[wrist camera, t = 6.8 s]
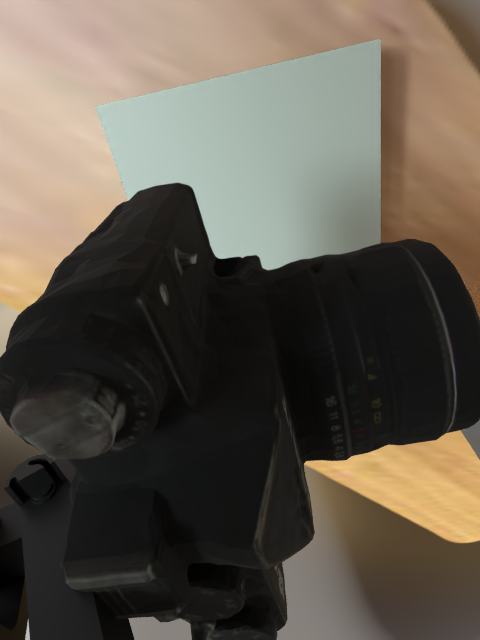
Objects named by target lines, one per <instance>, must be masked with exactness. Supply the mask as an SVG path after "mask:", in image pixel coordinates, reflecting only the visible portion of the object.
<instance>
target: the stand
mask: <svg viewBox="0 0 480 640" xmlns="http://www.w3.org/2000/svg"><path fill="white" fill-rule="evenodd" d="M95 107H96V110H97V113H98V116H99V119H100V121H101V124H102V127H103V130H104V133H105V136H106V139H107V141H108V144H109V147H110V150H111V153H112V156H113V158H114V161H115V164H116V167H117V170H118V173H119V176H120V178H121V181H122V184H123V187H124V190H125V193H126V195H127V198H128V201H129V200H130V199H131V198H132V197H133V196H134V195H135V194H136V193H137V192H138V191H141V190H144V189H147V188H150V187H153V186H158V185H165V184H171V183H177V182H178V183H182V184H186V185H189V186H190V187H192V189H193V191H194V193H195V197H196V200H197V203H198V206H199V210H200V213H201V216H202V219H203V223H204V226H205V229H206V232H207V235H208V238H209V242H210V246H211V248H212V251H213V253H214V255H215V256H216V257H217V258H219V259H225V258H231V257H242V258H244V257H245V256H251V255H257V256H258V257H259V258H260V261H261V264H262V268H264V269H266V270H272V269H276V268H279V267H282V266H284V265H286V264H288V263H290V262H294V261H298V260H300V259H311V258H314V257H318V256H322V255H328V254H344V253H348V252H352V251H357V250H360V249H362V248H365V247H368V246H372V245H376V244H380V243H381V39H376V40H372V41H368V42H364V43H360V44H355V45H351V46H347V47H343V48H339V49H334V50H330V51H326V52H322V53H318V54H313V55H309V56H305V57H301V58H297V59H292V60H288V61H284V62H280V63H276V64H271V65H267V66H263V67H259V68H255V69H250V70H246V71H242V72H238V73H234V74H229V75H225V76H221V77H217V78H213V79H208V80H204V81H200V82H196V83H192V84H187V85H183V86H179V87H175V88H171V89H166V90H162V91H158V92H154V93H150V94H145V95H141V96H137V97H133V98H129V99H124V100H120V101H116V102H112V103H108V104H103V105H99V106H95Z"/></svg>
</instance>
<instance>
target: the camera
mask: <svg viewBox="0 0 480 640" xmlns="http://www.w3.org/2000/svg"><path fill="white" fill-rule="evenodd" d="M0 412H1V414H2V416H3V418H4V419H5V421H6V423H7V425H8V426H9V427H11V428H12V429H13V430H14V432H15V433H16V434H17V435H18V436H20V437H21V438H22V439H23V440H24V441H25V442H26V443H28V444H30V445H32V446H34V447H36V448H37V449H38V450H40V451H41V452H43V453H44V454H45V455H47V456H48V457H49V458H51V459H68V461H69V462H70V463H71V464H72V465H73V466H74V468H75V470H76V473H75V475H74V477H73V479H72V482H71V484H70V502H71V503H72V505H73V510H72V515H71V519H70V524H69V528H68V532H67V536H66V541H65V545H64V548H63V552H62V556H61V559H60V563H59V566H60V569H61V571H62V574H63V577H64V580H65V582H66V583H67V584H68V585H69V586H70V587H71V588H72V589H74V590H77V591H81V592H94V593H95V595H96V596H97V597H98V598H99V599H100V600H101V601H102V603H103V604H104V605H105V606H106V607H107V608H108V609H109V611H110V612H111V613H112V614H113V616H114V617H115V618H116V619H117V620H119V619H126V618H134V617H155V618H156V619H158V621H160V622H170V621H173V620H176V619H179V618H181V619H183V620H185V621H187V622H189V623H190V624H191V633H192V640H276V639H277V631H278V630H280V629H281V628H282V627H283V626H285V624H286V621H287V603H286V595H285V583H284V573H283V567H282V562H283V561H285V560H286V559H288V558H289V557H291V556H293V555H294V554H295V553H297V552H298V551H300V550H301V549H303V548H304V547H305V546H306V545H307V544H309V543H310V541H311V540H312V539H313V536H314V533H315V532H314V526H313V517H312V509H311V501H310V494H309V490H308V486H307V482H306V478H305V472H304V463H305V462H306V461H313V460H328V461H339V460H347V459H348V458H350V457H351V456H354V455H359V454H364V453H368V452H371V451H374V450H376V449H379V448H381V447H383V446H386V445H388V444H390V445H406V444H412V443H418V442H425V441H432V440H437V439H438V438H440V437H441V436H442V435H444V434H445V433H449V432H453V431H458V430H462V429H467V428H469V427H471V426H473V425H475V424H476V423H477V422H478V421H479V420H480V320H479V317H478V314H477V311H476V308H475V306H474V303H473V300H472V298H471V296H470V294H469V292H468V290H467V289H466V287H465V285H464V282H463V280H462V278H461V276H460V275H459V273H458V271H457V270H456V268H455V266H454V265H453V264H452V263H451V261H450V260H449V259H448V258H447V257H446V256H445V255H444V254H443V253H442V252H441V251H440V250H439V249H438V248H437V247H435V246H434V245H433V244H431V243H427V242H423V241H419V240H416V239H406V240H402V241H398V242H393V243H380V244H376V245H372V246H368V247H365V248H362V249H360V250H357V251H352V252H348V253H344V254H328V255H322V256H318V257H314V258H311V259H300V260H298V261H294V262H290V263H288V264H286V265H284V266H282V267H279V268H276V269H272V270H266V269H264V268H262V264H261V261H260V258H259V257H258V256H257V255H251V256H245V257H244V258H242V257H231V258H225V259H219V258H217V257H216V256H215V255H214V253H213V251H212V248H211V246H210V242H209V238H208V235H207V232H206V229H205V226H204V223H203V219H202V216H201V213H200V210H199V206H198V203H197V200H196V197H195V193H194V191H193V189H192V187H190V186H189V185H186V184H182V183H178V182H177V183H171V184H165V185H158V186H153V187H150V188H147V189H144V190H141V191H138V192H137V193H136V194H135V195H134V196H133V197H132V198H131V199H130V200H129V201H126V202H123V203H121V204H120V205H118V206H116V208H115V209H114V210H113V211H112V212H111V213H110V215H109V216H108V217H107V218H106V219H105V220H104V221H103V222H102V223H101V224H100V225H99V226H98V227H97V228H96V230H95V231H93V232H91V233H90V234H89V236H88V237H87V238H86V239H85V240H84V242H83V243H82V244H80V245H78V246H77V247H76V249H75V250H74V251H73V252H72V253H71V254H70V255H69V256H67V257H66V258H64V260H63V261H62V262H61V263H60V264H59V265H58V267H57V268H56V269H55V271H54V273H53V276H52V278H51V280H50V282H49V284H48V286H47V288H46V290H45V292H44V294H43V295H42V296H41V297H40V298H39V299H38V300H37V301H36V302H35V303H33V304H32V305H30V306H29V307H27V308H26V309H25V310H24V311H23V312H22V313H20V314H19V315H18V317H17V319H16V321H15V322H14V324H13V326H12V328H11V330H10V334H9V338H8V342H7V345H6V352H5V353H4V354H3V355H2V356H1V357H0Z"/></svg>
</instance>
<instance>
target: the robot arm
mask: <svg viewBox="0 0 480 640" xmlns="http://www.w3.org/2000/svg"><path fill="white" fill-rule="evenodd" d="M461 431H462V433H463V435H464V436H465V438H466V439H467V441H468V442H469V444H470V445H471V447H472V448H473V450H474V452H475V453H476V455H477V456H478V458H479V459H480V420H479V421H478V422H477V423H476V424H475V425H473V426H471V427H469V428H467V429H462V430H461ZM75 473H76V470H75V468H74V466H73V465H72V464H71V463H70V462H69V461H68V459H55V461H54V460H53V459H51V458H49V457H48V456H47V455H45V454H44V455H37V456H34V457H32V458H29V459H27V460H26V461H24V462H23V463H21V464H20V465H18V466H17V467H16V468H15V469H14V470H13V472H11V474H10V475H9V477H8V479H7V480H6V482H5V487H4V489H5V490H6V492H7V493H8V494H9V495H10V496H11V497H12V498H13V500H14V501H15V503H13V504H10V505H8V506H5V507H3V508H1V509H0V640H25V635H26V629H27V621H28V619H29V632H30V640H134V637H133V633H132V630H131V626H130V623H129V619H128V618H126V619H119V620H117V619H116V618H115V617H114V616H113V614H112V613H111V612H110V611H109V609H108V608H107V607H106V606H105V605H104V604H103V603H102V601H101V600H100V599H99V598H98V597H97V596H96V595H95V593H94V592H81V591H77V590H74V589H72V588H71V587H70V586H69V585H68V584H67V583H66V582H65V580H64V577H63V574H62V571H61V569H60V566H59V563H60V559H61V556H62V552H63V548H64V545H65V541H66V536H67V532H68V528H69V524H70V519H71V515H72V510H73V505H72V503H71V502H70V484H71V482H72V479H73V477H74V475H75Z"/></svg>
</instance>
